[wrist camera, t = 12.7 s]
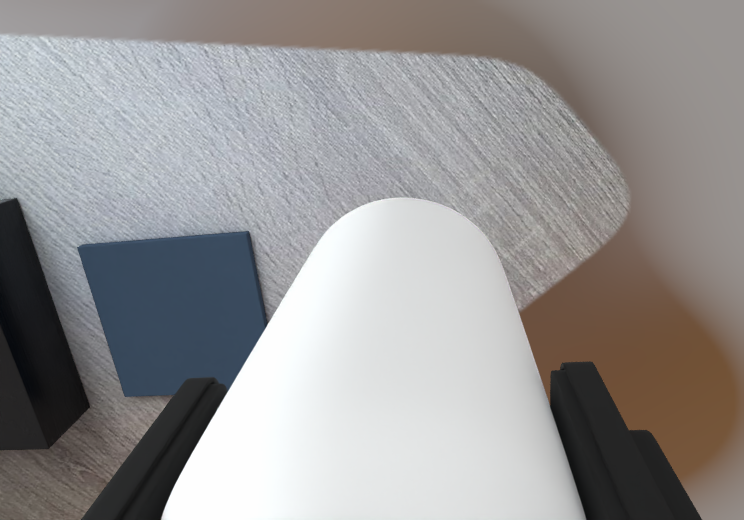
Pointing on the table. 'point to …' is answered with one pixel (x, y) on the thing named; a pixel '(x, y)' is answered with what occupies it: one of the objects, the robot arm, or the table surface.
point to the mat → (176, 308)
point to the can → (386, 389)
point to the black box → (31, 347)
